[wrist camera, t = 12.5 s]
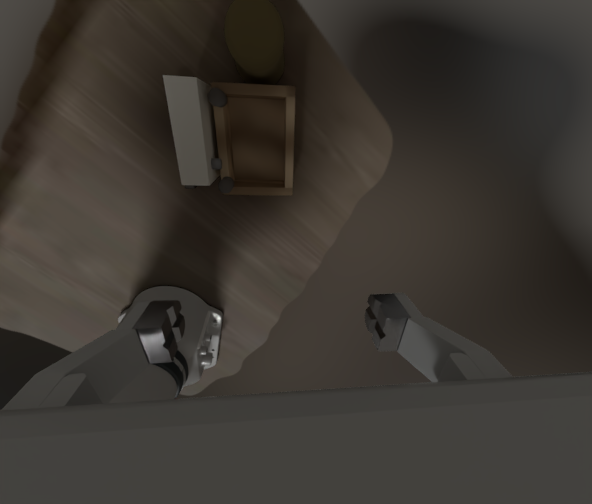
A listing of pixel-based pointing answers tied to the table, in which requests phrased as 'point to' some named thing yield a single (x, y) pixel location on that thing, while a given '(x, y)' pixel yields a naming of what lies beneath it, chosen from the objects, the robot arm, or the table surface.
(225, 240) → the table surface
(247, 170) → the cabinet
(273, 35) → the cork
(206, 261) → the table surface
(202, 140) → the white rectangular block
